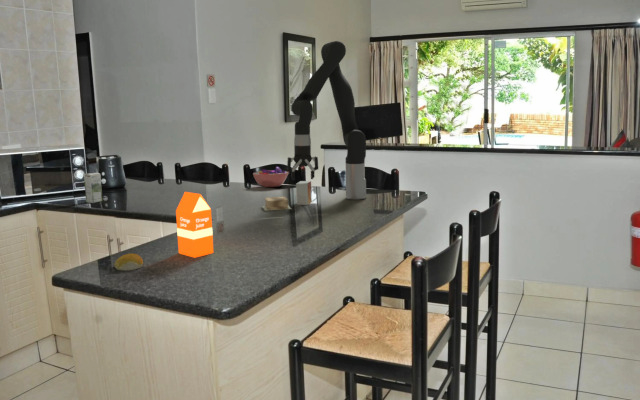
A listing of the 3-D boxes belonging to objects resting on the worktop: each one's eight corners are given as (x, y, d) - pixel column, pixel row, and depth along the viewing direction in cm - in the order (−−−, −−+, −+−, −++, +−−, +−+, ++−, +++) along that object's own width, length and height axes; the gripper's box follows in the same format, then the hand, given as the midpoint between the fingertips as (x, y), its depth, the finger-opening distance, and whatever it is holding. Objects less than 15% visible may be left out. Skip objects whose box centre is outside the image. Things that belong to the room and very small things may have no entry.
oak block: (284, 205, 268) (284, 196, 268) (288, 208, 260) (287, 199, 259) (265, 206, 267) (265, 197, 266) (267, 210, 258) (267, 201, 257)
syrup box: (96, 200, 296) (93, 172, 294) (103, 201, 293) (100, 172, 290) (85, 202, 291) (83, 173, 289) (92, 203, 288) (90, 174, 286)
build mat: (288, 206, 269) (288, 204, 269) (291, 210, 260) (291, 208, 260) (262, 207, 267) (262, 206, 267) (264, 211, 257) (264, 210, 257)
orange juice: (194, 257, 186) (190, 195, 182) (178, 253, 191) (174, 193, 188) (214, 252, 191) (210, 192, 188) (197, 248, 197) (194, 190, 194)
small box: (308, 206, 268) (307, 183, 267) (296, 205, 270) (295, 183, 268) (312, 202, 276) (311, 180, 274) (300, 202, 277) (299, 180, 275)
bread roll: (143, 261, 183) (142, 249, 182) (143, 269, 175) (142, 256, 174) (115, 264, 181) (114, 252, 180) (114, 272, 172) (113, 259, 172)
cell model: (253, 185, 335) (252, 165, 333) (288, 184, 337) (287, 164, 335) (253, 190, 319) (252, 169, 317) (290, 188, 321) (289, 168, 319)
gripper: (316, 143, 273) (316, 177, 276) (285, 144, 270) (286, 178, 273) (319, 144, 266) (319, 180, 269) (288, 145, 263) (288, 181, 266)
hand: (302, 179), depth 271 cm, fingers open, 8 cm apart
